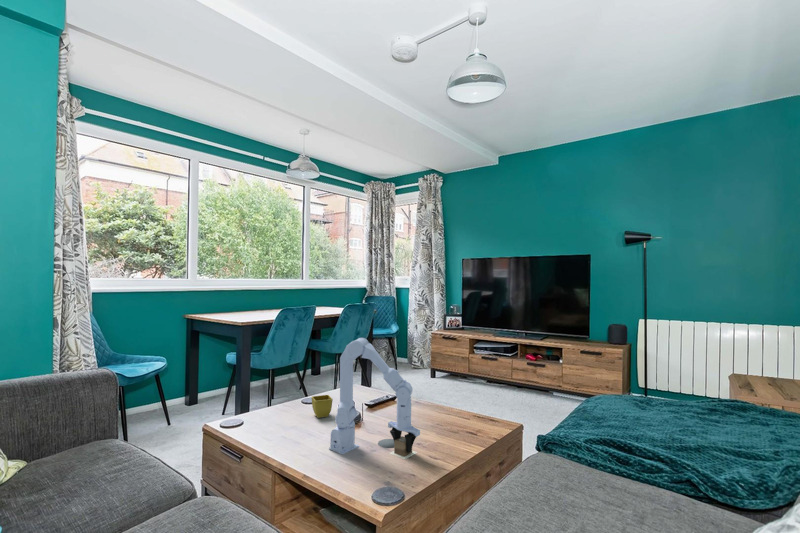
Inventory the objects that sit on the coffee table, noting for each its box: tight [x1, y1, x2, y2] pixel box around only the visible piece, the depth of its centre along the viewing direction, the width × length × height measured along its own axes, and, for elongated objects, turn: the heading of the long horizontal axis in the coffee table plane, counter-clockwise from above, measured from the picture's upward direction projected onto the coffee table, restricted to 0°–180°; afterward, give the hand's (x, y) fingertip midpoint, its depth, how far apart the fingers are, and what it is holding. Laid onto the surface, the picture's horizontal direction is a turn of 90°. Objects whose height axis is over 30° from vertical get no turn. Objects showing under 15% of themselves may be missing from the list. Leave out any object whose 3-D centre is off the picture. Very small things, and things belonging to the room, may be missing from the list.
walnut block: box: [393, 435, 413, 457], centre depth 156 cm, size 5×5×5 cm
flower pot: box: [311, 394, 333, 419], centre depth 197 cm, size 9×9×9 cm
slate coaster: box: [377, 438, 394, 449], centre depth 165 cm, size 9×9×1 cm
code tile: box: [388, 450, 418, 460], centre depth 156 cm, size 8×8×1 cm
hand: (403, 449), depth 156 cm, fingers closed on walnut block, 5 cm apart
